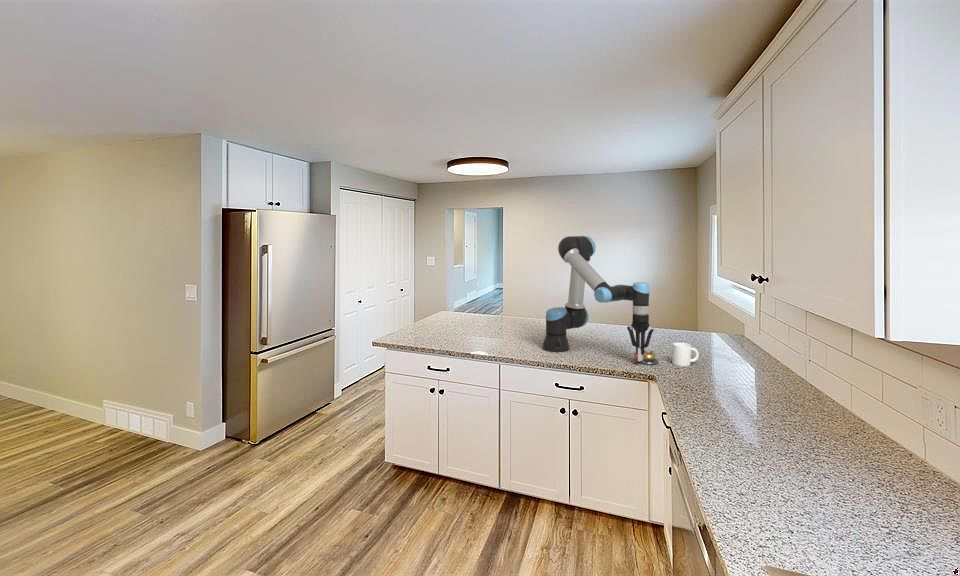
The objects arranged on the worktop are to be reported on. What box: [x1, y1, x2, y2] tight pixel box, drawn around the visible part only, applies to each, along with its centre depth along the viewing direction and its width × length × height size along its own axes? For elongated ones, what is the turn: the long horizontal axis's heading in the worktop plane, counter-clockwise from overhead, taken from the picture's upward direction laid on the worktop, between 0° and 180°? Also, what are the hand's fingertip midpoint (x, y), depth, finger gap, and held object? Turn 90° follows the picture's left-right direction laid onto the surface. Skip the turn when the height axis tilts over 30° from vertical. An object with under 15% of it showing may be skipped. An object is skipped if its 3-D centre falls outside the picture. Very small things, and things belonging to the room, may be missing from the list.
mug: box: [671, 342, 700, 368], centre depth 208 cm, size 12×8×10 cm
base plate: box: [637, 358, 659, 366], centre depth 213 cm, size 10×10×1 cm
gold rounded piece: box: [633, 349, 656, 363], centre depth 212 cm, size 12×7×4 cm, turn 113°
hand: (640, 360), depth 209 cm, fingers closed
